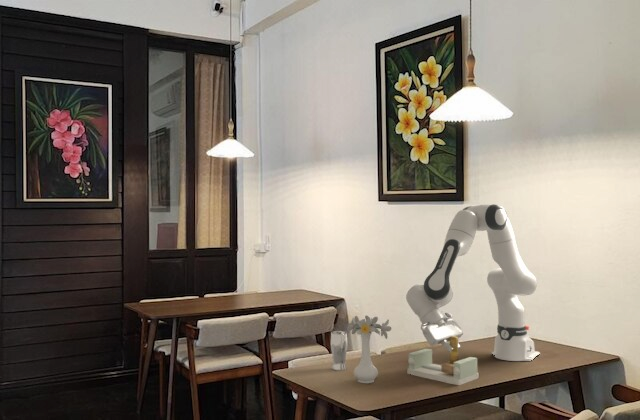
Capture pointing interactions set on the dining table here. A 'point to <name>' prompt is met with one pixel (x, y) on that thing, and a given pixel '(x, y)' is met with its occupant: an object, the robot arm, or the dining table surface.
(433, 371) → the track
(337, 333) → the beer glass
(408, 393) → the dining table surface
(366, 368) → the flower vase
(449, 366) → the carriage
